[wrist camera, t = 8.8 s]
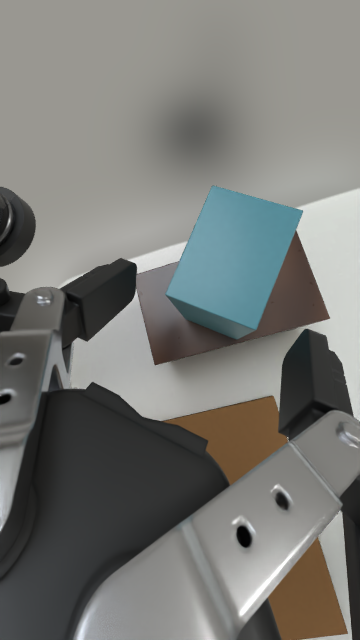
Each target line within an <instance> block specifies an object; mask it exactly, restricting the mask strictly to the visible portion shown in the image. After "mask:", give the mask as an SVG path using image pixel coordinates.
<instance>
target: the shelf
mask: <svg viewBox="0 0 360 640" xmlns="http://www.w3.org/2000/svg"><path fill="white" fill-rule="evenodd" d="M178 263H179V261H178V262H175V263H171V264H168V265H165V266H162V267H159V268H155V269H152V270H149V271H146V272H143V273H139V274H137V275H136V289H137V293H138V297H139V301H140V306H141V310H142V314H143V318H144V322H145V327H146V331H147V335H148V339H149V343H150V348H151V352H152V356H153V360H154V364H155V365H159V364H163V363H167V362H171V361H175V360H179V359H181V358H185V357H188V356H192V355H196V354H200V353H203V352H207V351H211V350H215V349H218V348H222V347H226V346H230V345H233V344H237V343H241V342H245V341H248V340H252V339H256V338H260V337H263V336H267V335H271V334H275V333H278V332H282V331H286V330H291V329H295V328H299V327H302V326H306V325H309V324H313V323H316V322H320V321H323V320H327V319H330V317H329V314H328V312H327V309H326V306H325V304H324V301H323V299H322V296H321V293H320V291H319V288H318V286H317V283H316V280H315V278H314V275H313V273H312V270H311V267H310V265H309V262H308V260H307V257H306V254H305V252H304V249H303V247H302V244H301V241H300V239H299V236H298V234H297V231H295V234H294V236H293V239H292V241H291V244H290V246H289V249H288V251H287V254H286V256H285V259H284V261H283V264H282V266H281V269H280V271H279V274H278V277H277V279H276V282H275V284H274V287H273V289H272V292H271V294H270V297H269V299H268V302H267V304H266V307H265V309H264V312H263V314H262V317H261V319H260V322H259V324H258V327H257V330H255V331H253V332H251V333H249V334H247V335H245V336H243V337H241V338H239V339H237V340H236V339H234V338H231V337H229V336H226V335H224V334H221V333H219V332H216V331H214V330H211V329H209V328H206V327H204V326H202V325H199V324H197V323H194V322H192V321H189V320H187V319H185V318H184V317H183V316H182V314H181V313H180V312H179V311H178V310H177V308H176V307H175V306H174V305H173V304H172V302H171V301H170V300H169V299H168V298H167V296H166V295H165V293H166V291H167V289H168V286H169V284H170V282H171V279H172V277H173V275H174V273H175V270H176V268H177V266H178Z"/></svg>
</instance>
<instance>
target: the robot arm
mask: <svg viewBox="0 0 360 640" xmlns="http://www.w3.org/2000/svg"><path fill="white" fill-rule="evenodd" d="M15 220H16V214H15V209H14V207H13V204H12V203H11V202H10V200H9V199H7V198H6V197H5V196H3V195H2V194H1V193H0V246H2V245H3V244H4V243H5V242H6V241H7V239H8V238H9V237H10V235H11V233H12V231H13V229H14V225H15ZM136 275H137V266H136V264H135V263H133V262H130V261H127V260H124V259H122V258H120V259H118V260H116V261H115V262H113V263H111V264H110V265H109V264H107V265H103V266H99V267H96V268H95V269H93V270H91V271H90V272H88V273H86V274H84V275H83V277H82V276H81V277H79V278H77V279H76V280H74V281H72V282H71V283H69V284H67V285H65V286H64V287H62V288H60V289H57V288H53V287H40V288H36V289H33V290H31V291H29V292H27V293H26V294H24V293H17V292H12V291H9V289H8V286H7V284H6V282H5V281H4V280H3V279H1V278H0V640H282V639H281V635H280V632H279V629H278V626H277V623H276V620H275V617H274V614H273V611H272V608H271V605H270V602H269V599H268V596H269V595H270V593H271V592H272V591H273V590H274V589H275V587H276V586H277V585H278V584H279V583H280V581H281V580H282V579H283V578H284V577H285V575H286V574H287V573H288V572H289V571H290V569H291V568H292V567H293V566H294V565H295V563H296V562H297V561H298V560H299V559H300V558H301V556H302V555H303V554H304V553H305V552H306V550H307V549H308V548H309V547H310V546H311V544H312V543H313V542H314V541H315V540H316V538H317V537H318V536H319V535H320V534H321V532H322V531H323V530H324V529H325V528H326V526H327V525H328V524H329V523H330V522H331V520H332V519H333V518H334V517H335V516H336V514H337V513H338V512H339V511H340V510H341V511H342V514H343V527H344V539H345V552H346V565H347V578H348V590H349V603H350V616H351V629H352V640H360V422H359V421H358V420H357V419H356V418H354V416H353V412H352V407H351V403H350V398H349V394H348V389H347V385H345V384H346V380H345V376H343V375H344V371H343V366H342V363H341V361H340V360H339V358H338V357H337V355H336V354H335V352H333V351H330V350H329V347H328V342H327V337H326V336H325V335H323V334H320V333H317V332H315V331H312V330H309V329H305V330H304V331H303V332H302V333H301V334H300V336H299V337H298V339H297V340H296V341H295V343H294V344H293V345H292V347H291V348H290V349H289V351H288V352H287V354H286V356H285V358H284V360H283V364H282V376H281V392H280V409H279V425H278V433H280V434H282V435H285V436H287V437H289V442H287V443H286V444H285V445H283V446H282V447H281V448H279V449H278V450H277V451H275V452H274V453H273V454H271V455H270V456H269V457H267V458H266V459H265V460H263V461H262V462H261V463H259V464H258V465H257V466H255V467H254V468H253V469H251V470H250V471H249V472H247V473H246V474H245V475H244V476H242V477H241V478H240V479H238V480H237V481H236V482H234V483H233V484H232V485H230V483H229V481H228V479H227V477H226V475H225V473H224V472H223V470H222V468H221V467H220V466H219V464H218V463H217V462H216V461H215V459H214V458H213V457H212V456H211V455H210V454H209V453H208V452H207V451H206V447H207V444H208V440H206V439H204V438H202V437H200V436H198V435H196V434H194V433H192V432H190V431H188V430H186V429H184V428H183V427H181V426H179V425H175V424H171V423H166V422H161V421H157V420H152V419H148V418H144V417H142V416H141V415H140V414H139V413H137V412H136V411H135V410H134V409H133V408H132V407H131V406H130V405H129V404H128V403H127V402H126V401H124V400H123V399H122V398H121V397H120V396H119V395H117V394H115V393H113V392H111V391H109V390H108V389H106V388H104V387H102V386H100V385H98V384H96V383H94V382H92V383H91V384H90V385H89V386H88V387H87V388H86V390H85V389H75V388H74V389H71V387H70V377H71V368H72V359H73V349H74V342H73V341H74V340H75V339H76V338H77V337H78V338H80V339H83V340H85V341H87V342H88V341H89V340H90V339H91V338H92V337H93V336H94V335H95V334H96V333H97V332H99V331H100V330H101V329H102V328H103V327H104V326H105V325H106V324H107V323H108V322H109V321H111V320H112V319H113V318H114V317H115V316H116V315H117V314H118V313H119V312H120V311H122V310H123V309H124V308H125V307H126V306H127V305H128V304H129V303H130V302H131V301H132V300H133V298H134V295H135V291H136Z"/></svg>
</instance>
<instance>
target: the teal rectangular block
mask: <svg viewBox="0 0 360 640" xmlns="http://www.w3.org/2000/svg"><path fill="white" fill-rule="evenodd" d="M302 213H303V211H302V210H299V209H295V208H292V207H288V206H284V205H281V204H277V203H274V202H270V201H267V200H263V199H259V198H256V197H252V196H248V195H245V194H242V193H238V192H234V191H231V190H227V189H224V188H220V187H217V186H212V187H211V190H210V192H209V194H208V196H207V199H206V201H205V203H204V206H203V208H202V210H201V213H200V215H199V217H198V219H197V222H196V224H195V226H194V229H193V231H192V234H191V236H190V238H189V240H188V243H187V245H186V247H185V249H184V252H183V254H182V256H181V259H180V261H179V263H178V266H177V268H176V270H175V273H174V275H173V277H172V279H171V282H170V284H169V286H168V289H167V291H166V293H165V295H166V296H167V298H168V299H169V300H170V301H171V302H172V304H173V305H174V306H175V307H176V308H177V310H178V311H179V312H180V313H181V314H182V316H183V317H184V318H185V319H187V320H189V321H192V322H194V323H197V324H199V325H202V326H204V327H206V328H209V329H211V330H214V331H216V332H219V333H221V334H224V335H226V336H229V337H231V338H234V339H236V340H237V339H239V338H241V337H243V336H245V335H247V334H249V333H251V332H253V331H255V330H257V327H258V324H259V322H260V319H261V317H262V314H263V312H264V309H265V307H266V304H267V302H268V299H269V297H270V294H271V292H272V289H273V287H274V284H275V282H276V279H277V277H278V274H279V271H280V269H281V266H282V264H283V261H284V259H285V256H286V254H287V251H288V249H289V246H290V244H291V241H292V239H293V236H294V234H295V231H296V229H297V226H298V224H299V221H300V218H301V216H302Z"/></svg>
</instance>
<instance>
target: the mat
mask: <svg viewBox="0 0 360 640" xmlns="http://www.w3.org/2000/svg"><path fill="white" fill-rule="evenodd" d="M161 422H166V423H171V424H175V425H179V426H181V427H183V428H184V429H186V430H188V431H190V432H192V433H194V434H196V435H198V436H200V437H202V438H204V439H206V440H208V444H207V447H206V451H207V452H208V453H209V454H210V455H211V456H212V457H213V458H214V459H215V461H216V462H217V463H218V464H219V466H220V467H221V468H222V470H223V472H224V473H225V475H226V477H227V479H228V481H229V483H230V485H232V484H233V483H234V482H236V481H237V480H238V479H240V478H241V477H242V476H244V475H245V474H246V473H247V472H249V471H250V470H251V469H253V468H254V467H255V466H257V465H258V464H259V463H261V462H262V461H263V460H265V459H266V458H267V457H269V456H270V455H271V454H273V453H274V452H275V451H277V450H278V449H279V448H281V447H282V446H283V445H285V444H286V443H287V442H288V440H287V437H286V436H285V435H282V434H280V433H278V425H279V411H278V408H277V405H276V402H275V399H274V396H269V397H264V398H260V399H256V400H252V401H247V402H243V403H239V404H234V405H230V406H226V407H221V408H217V409H213V410H208V411H204V412H200V413H196V414H191V415H187V416H183V417H178V418H174V419H170V420H165V421H161ZM268 599H269V602H270V605H271V608H272V611H273V614H274V617H275V620H276V623H277V626H278V629H279V632H280V635H281V639H282V640H300V639H308V638H316V637H325V636H333V635H341V634H348V632H347V629H346V625H345V622H344V619H343V616H342V613H341V609H340V606H339V603H338V600H337V597H336V593H335V590H334V587H333V584H332V581H331V577H330V574H329V571H328V568H327V565H326V561H325V558H324V555H323V552H322V549H321V546H320V542H319V539H318V537H317V538H316V540H315V541H314V542H313V543H312V544H311V546H310V547H309V548H308V549H307V550H306V552H305V553H304V554H303V555H302V556H301V558H300V559H299V560H298V561H297V562H296V563H295V565H294V566H293V567H292V568H291V569H290V571H289V572H288V573H287V574H286V575H285V577H284V578H283V579H282V580H281V581H280V583H279V584H278V585H277V586H276V587H275V589H274V590H273V591H272V592H271V593H270V595H269V596H268Z"/></svg>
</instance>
